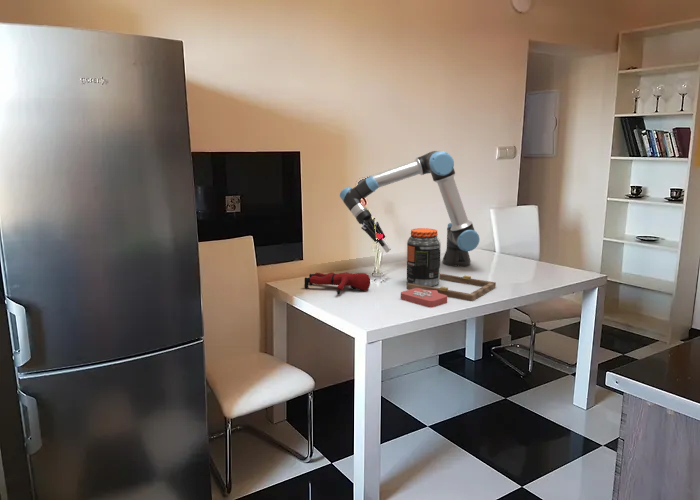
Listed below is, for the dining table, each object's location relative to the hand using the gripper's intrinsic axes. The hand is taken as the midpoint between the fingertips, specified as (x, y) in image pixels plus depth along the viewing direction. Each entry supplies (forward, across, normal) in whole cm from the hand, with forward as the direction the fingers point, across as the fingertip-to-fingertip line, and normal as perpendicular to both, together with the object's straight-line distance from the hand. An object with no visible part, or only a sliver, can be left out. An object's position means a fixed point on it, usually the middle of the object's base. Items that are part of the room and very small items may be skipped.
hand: (388, 250), depth 266 cm
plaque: (+33, +22, +13) cm, 42 cm away
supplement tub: (+23, -2, +3) cm, 23 cm away
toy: (+5, +30, -16) cm, 34 cm away
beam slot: (+33, -2, +13) cm, 35 cm away
